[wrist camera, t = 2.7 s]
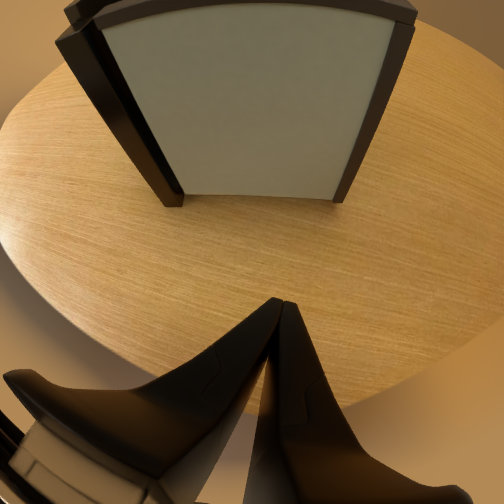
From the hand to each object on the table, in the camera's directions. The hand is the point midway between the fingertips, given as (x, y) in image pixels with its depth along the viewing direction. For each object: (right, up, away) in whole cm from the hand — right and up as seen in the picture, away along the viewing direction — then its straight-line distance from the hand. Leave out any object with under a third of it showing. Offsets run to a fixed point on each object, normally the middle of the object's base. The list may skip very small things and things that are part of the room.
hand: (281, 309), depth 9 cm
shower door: (0, +6, +12) cm, 14 cm away
